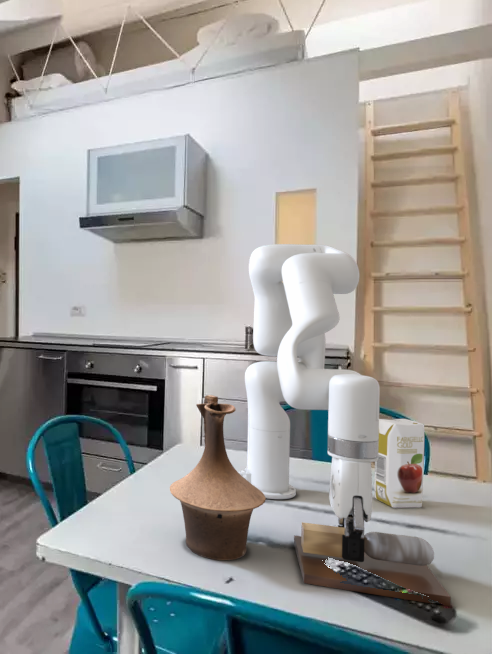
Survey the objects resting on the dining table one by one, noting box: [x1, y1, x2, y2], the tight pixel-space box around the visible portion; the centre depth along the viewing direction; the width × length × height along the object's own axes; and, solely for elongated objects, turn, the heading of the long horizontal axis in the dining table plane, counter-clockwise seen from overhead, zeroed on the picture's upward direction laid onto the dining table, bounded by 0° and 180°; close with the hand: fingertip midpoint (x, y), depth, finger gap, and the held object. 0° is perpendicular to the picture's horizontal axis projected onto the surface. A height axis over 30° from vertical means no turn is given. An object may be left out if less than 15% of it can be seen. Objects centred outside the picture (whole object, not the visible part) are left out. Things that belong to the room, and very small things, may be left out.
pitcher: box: [169, 394, 267, 561], centre depth 101 cm, size 18×17×28 cm
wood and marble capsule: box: [300, 521, 435, 566], centre depth 92 cm, size 20×4×4 cm, turn 71°
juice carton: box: [373, 418, 425, 509], centre depth 125 cm, size 8×9×19 cm
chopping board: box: [293, 535, 452, 607], centre depth 92 cm, size 20×16×2 cm
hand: (350, 553), depth 93 cm, fingers closed on wood and marble capsule, 3 cm apart
